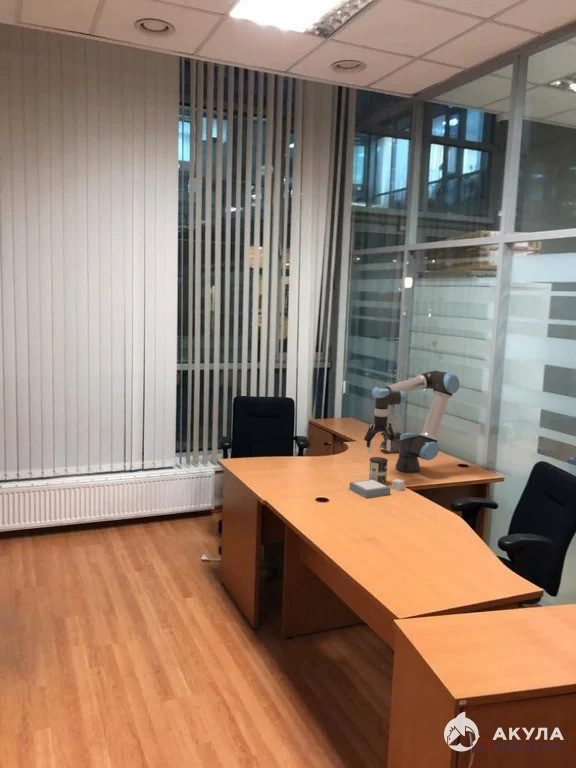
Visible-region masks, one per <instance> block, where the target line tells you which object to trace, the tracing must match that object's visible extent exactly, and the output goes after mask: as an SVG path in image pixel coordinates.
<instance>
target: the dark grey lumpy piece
mask: <svg viewBox="0 0 576 768" xmlns="http://www.w3.org/2000/svg"><path fill="white" fill-rule="evenodd" d="M401 434H402V433H401V432H396V431H395V433H394V436H395V439H393V440H392V445H391V448H390V451H387V453H389V454H393V453H399V444H400V436H401ZM380 435H381V436H382V438H383V441H382V442H381V443H380V445H379V449H381V448H382V449H384V450H386V449H387V439H388V437H387V436H386V434H385V433H384V432H380Z"/></svg>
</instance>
